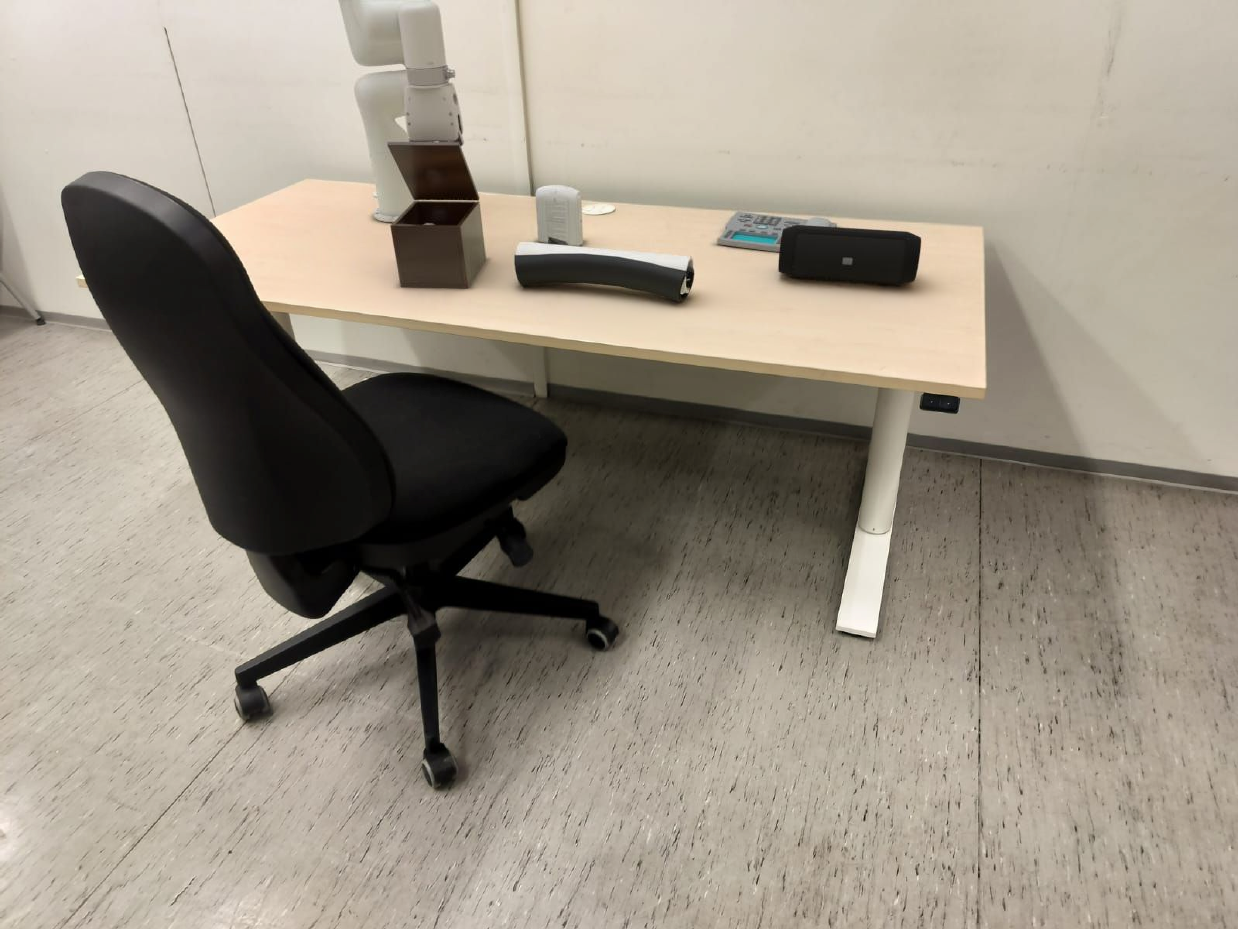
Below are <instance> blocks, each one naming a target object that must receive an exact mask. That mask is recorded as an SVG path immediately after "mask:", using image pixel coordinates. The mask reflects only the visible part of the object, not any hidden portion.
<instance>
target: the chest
mask: <svg viewBox="0 0 1238 929" xmlns="http://www.w3.org/2000/svg"><path fill="white" fill-rule="evenodd" d="M482 220H483V218H482V210H481V201H480V200H479V201H467V200H419V201H414V202H413V203H412V204H411V205H410V206H409V207H408V208H407V209H406V210H405V211H404V212H403V213H402V214H401V215H400V216H399V217H398V218H397V219H396V220H395V221H394V222H391V224H390V226H389V227H390V231H391V232H390V233H391V238H392V239H391V240H392V244H393V250H394V255H395V256H394V257H395V261H396V268H397V274H398V278H399V284H400V288H426V289H427V288H431V289H434V288H435V289H469V288H470V286H471V284H472V283H473V281H474V280H475V278H476V277H477V275H478V274H479V272H480V270H481V269H482V267H483V265H484V264H485V262H486V261H487V255H486V247H485V238H484V237H485V236H484V230H483V221H482ZM426 223H432V224H434V225H424V224H426Z"/></svg>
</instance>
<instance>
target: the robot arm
mask: <svg viewBox="0 0 1238 929" xmlns="http://www.w3.org/2000/svg"><path fill="white" fill-rule="evenodd" d="M337 1H338V4H339V8H340V12H341V16H342V21H343V25H344V29H345V33H346V37H347V41H348V45H349V48H350V49H349V50H350V52H351V55H352V57H353V59H354V61H355V62H356V63H357V65H359V66H361V67H382V66H392V65H403V66H404V67H405V69H400V70H399V69H398V70H386V71H377V72H371V73H367V74H363V75H362V76H360V77H359V78H357V79H356V80H355V82H354V87H353V93H354V97H355V101H356V104H357V108H358V111H359V113H360V116H361V119H362V123H363V128H364V131H365V137H366V141H367V147H368V152H369V158H370V163H371V168H372V174H373V180H374V187H375V191H376V198H377V202H378V207H377V208H375V209H374V211H373V218H374V219H375V220H377V221H380V222H384V223H393V222H394V221H395V220H396V219H397V218H398V217H399V216H400V215H401V214H402V213H403V212H404V211H405V210H406V209H407V208H408V207H409V206H410V205H411V204H412V203H413V202H414V201H420V200H414V199H413V197H412V195H411V193H410V191H409V189H408V187H407V185H406V183H405V181H404V179H403V177H402V174H401V172H400V170H399V168H398V166H397V164H396V162H395V160H394V158H393V156H392V154H391V152H390V150H389V148H388V146H387V144H388V142H459V143H460V146H461V147H462V146H464V144H465V139H464V138H463V134H464V124H463V118H462V111H461V106H460V103H459V98H458V94H457V91H456V88H455V84H454V83H453V82H449V81H450V80H451V79H455V78H456V70H455V69H450V68H449V66H448V64H447V57H446V49H445V40H444V33H443V24H442V16H441V9H440V7H439V5H438V4H437V3H435V2H434V1H431V0H337ZM401 117H405V128H406V130H405V129H404V128H403V127H402V126H401V125H400V124H399V123H398V122H397V121H396V119H397V118H401Z"/></svg>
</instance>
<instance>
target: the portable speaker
mask: <svg viewBox="0 0 1238 929" xmlns="http://www.w3.org/2000/svg"><path fill="white" fill-rule="evenodd" d="M921 250H922V237H921V236H919V235H917V234H914V233H912V232H909V231H903V230H888V229H873V228H872V229H871V228H856V227H855V228H854V227H840V226H837V227H825V226H808V225H795V226H791V227H788V228H785V229H783V231H782V237H781V243H780V251H779V252H778V253H779V254H778V263H777V264H778V265H777V266H778V267H777V268H778V269H777V270H778V272H779V273H781V274H783V275H785V276H787V277H789V278H792V279H800V280H812V281H825V282H838V283H851V284H852V283H853V284H865V285H877V286H878V285H880V286H893V287H895V286H896V287H898V286H902V285H906V284H909V283H913V282H915V281H916V279H917V274H918V270H919V265H920V257H921Z"/></svg>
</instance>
